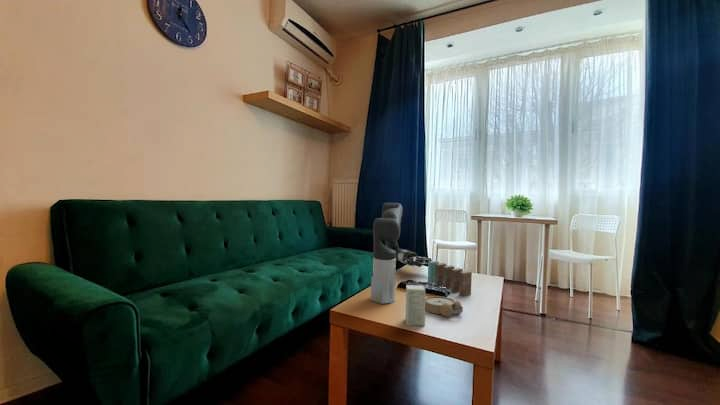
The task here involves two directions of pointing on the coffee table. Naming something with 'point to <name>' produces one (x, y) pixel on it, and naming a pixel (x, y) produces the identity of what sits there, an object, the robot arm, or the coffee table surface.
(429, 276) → the teal domino
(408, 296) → the skincare box
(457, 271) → the domino
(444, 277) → the domino
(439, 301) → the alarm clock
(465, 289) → the domino
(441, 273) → the domino
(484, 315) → the coffee table surface
